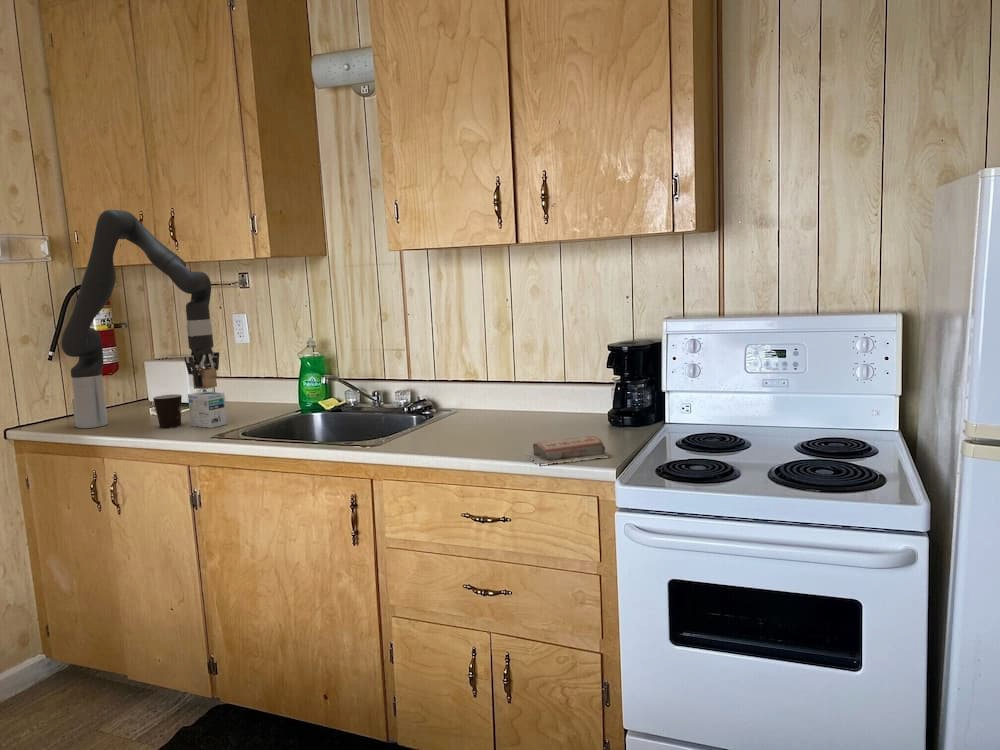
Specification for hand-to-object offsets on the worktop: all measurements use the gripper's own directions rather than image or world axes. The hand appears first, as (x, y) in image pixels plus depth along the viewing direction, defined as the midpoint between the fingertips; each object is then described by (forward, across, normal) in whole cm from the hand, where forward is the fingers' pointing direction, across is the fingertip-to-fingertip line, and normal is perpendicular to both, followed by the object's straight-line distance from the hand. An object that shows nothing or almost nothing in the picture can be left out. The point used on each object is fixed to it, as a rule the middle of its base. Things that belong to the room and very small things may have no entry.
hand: (205, 385), depth 250 cm
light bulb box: (+14, 0, 0) cm, 14 cm away
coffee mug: (+13, +2, -13) cm, 19 cm away
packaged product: (+14, +22, +128) cm, 130 cm away
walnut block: (+1, 0, 0) cm, 1 cm away
